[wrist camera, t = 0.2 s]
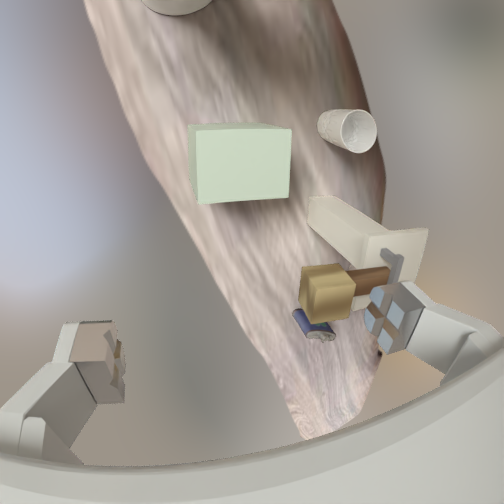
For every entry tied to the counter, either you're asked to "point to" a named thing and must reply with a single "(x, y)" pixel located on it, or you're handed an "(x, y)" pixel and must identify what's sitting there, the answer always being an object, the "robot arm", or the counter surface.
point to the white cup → (348, 129)
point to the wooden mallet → (336, 289)
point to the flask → (313, 327)
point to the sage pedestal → (239, 161)
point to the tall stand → (367, 241)
